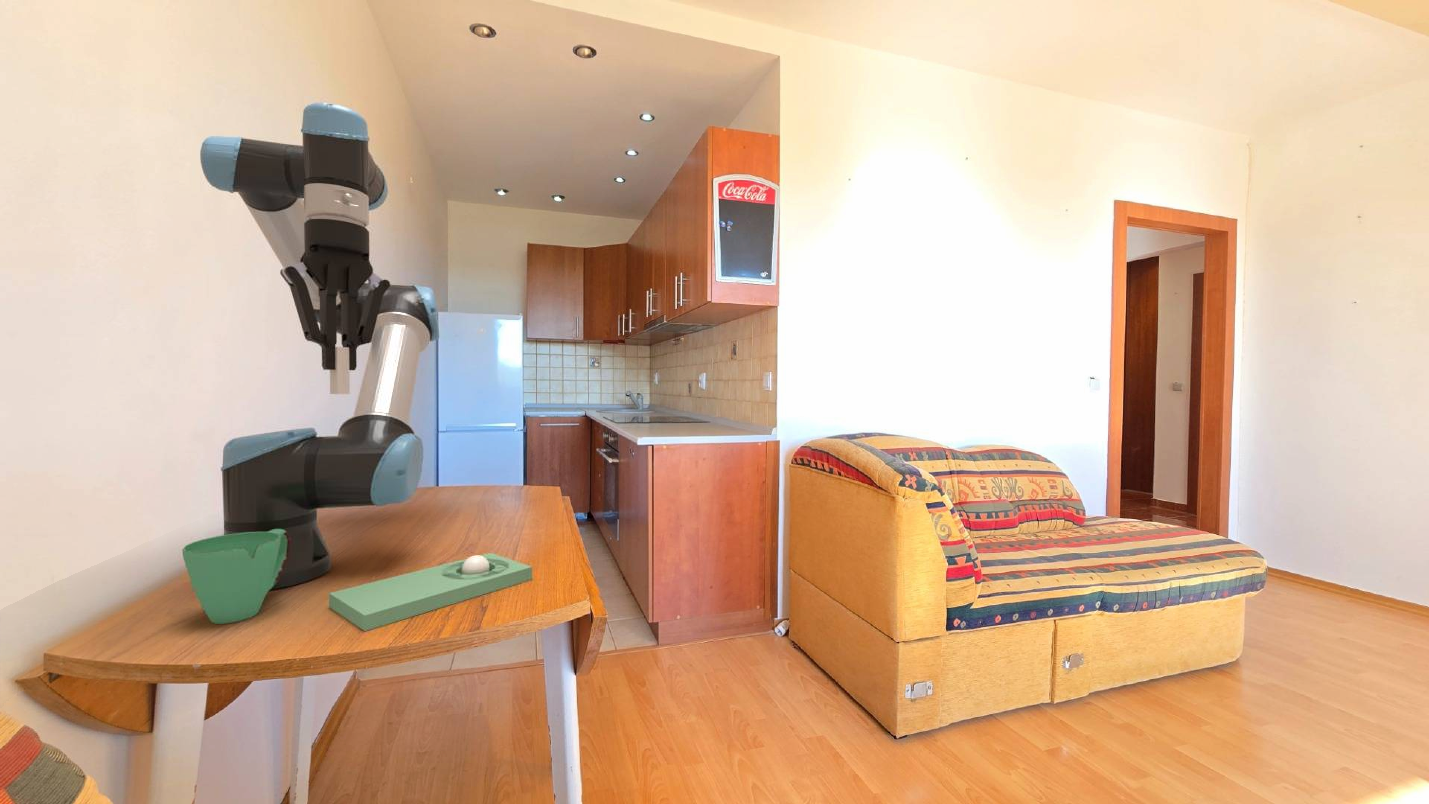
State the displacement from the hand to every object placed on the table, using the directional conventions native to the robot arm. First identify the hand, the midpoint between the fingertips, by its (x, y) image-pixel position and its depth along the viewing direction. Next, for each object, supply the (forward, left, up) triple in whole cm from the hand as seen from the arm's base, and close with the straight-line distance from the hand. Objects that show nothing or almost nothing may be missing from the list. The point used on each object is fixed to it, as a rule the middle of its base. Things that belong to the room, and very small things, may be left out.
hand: (339, 393), depth 79 cm
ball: (+7, +16, -27) cm, 33 cm away
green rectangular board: (+7, +10, -29) cm, 32 cm away
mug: (-7, -9, -30) cm, 32 cm away
